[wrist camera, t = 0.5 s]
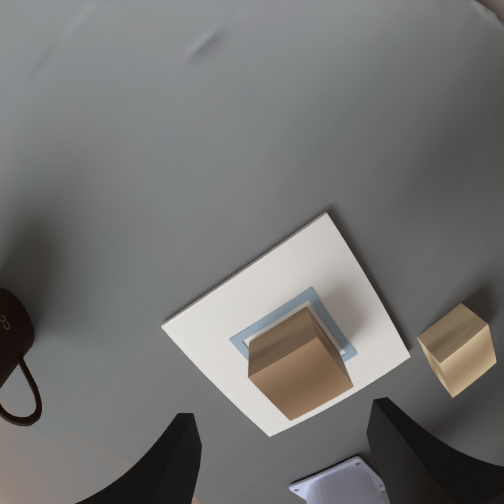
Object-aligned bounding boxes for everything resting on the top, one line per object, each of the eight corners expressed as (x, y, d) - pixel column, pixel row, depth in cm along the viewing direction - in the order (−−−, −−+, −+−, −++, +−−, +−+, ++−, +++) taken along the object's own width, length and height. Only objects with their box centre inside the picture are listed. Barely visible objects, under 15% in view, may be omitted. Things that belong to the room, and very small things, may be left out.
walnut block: (339, 352, 21) (353, 386, 17) (285, 383, 22) (290, 421, 18) (306, 306, 20) (317, 337, 16) (249, 342, 21) (247, 377, 17)
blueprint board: (407, 352, 22) (410, 357, 21) (269, 431, 24) (269, 437, 23) (324, 211, 19) (327, 213, 18) (163, 322, 21) (160, 327, 20)
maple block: (472, 339, 22) (496, 362, 18) (432, 370, 22) (452, 397, 19) (460, 302, 21) (487, 324, 17) (416, 336, 22) (439, 363, 18)
